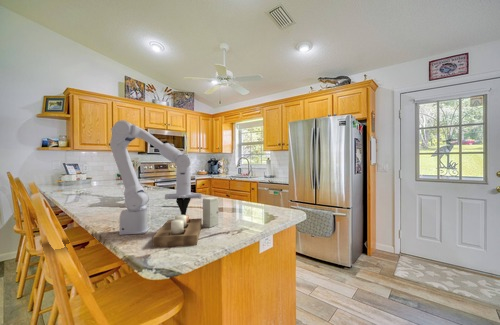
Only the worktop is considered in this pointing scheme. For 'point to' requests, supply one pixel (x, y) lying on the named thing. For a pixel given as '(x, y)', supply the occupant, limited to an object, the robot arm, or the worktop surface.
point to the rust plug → (187, 218)
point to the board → (185, 238)
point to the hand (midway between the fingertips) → (183, 216)
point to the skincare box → (210, 211)
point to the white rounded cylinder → (177, 226)
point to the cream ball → (182, 217)
